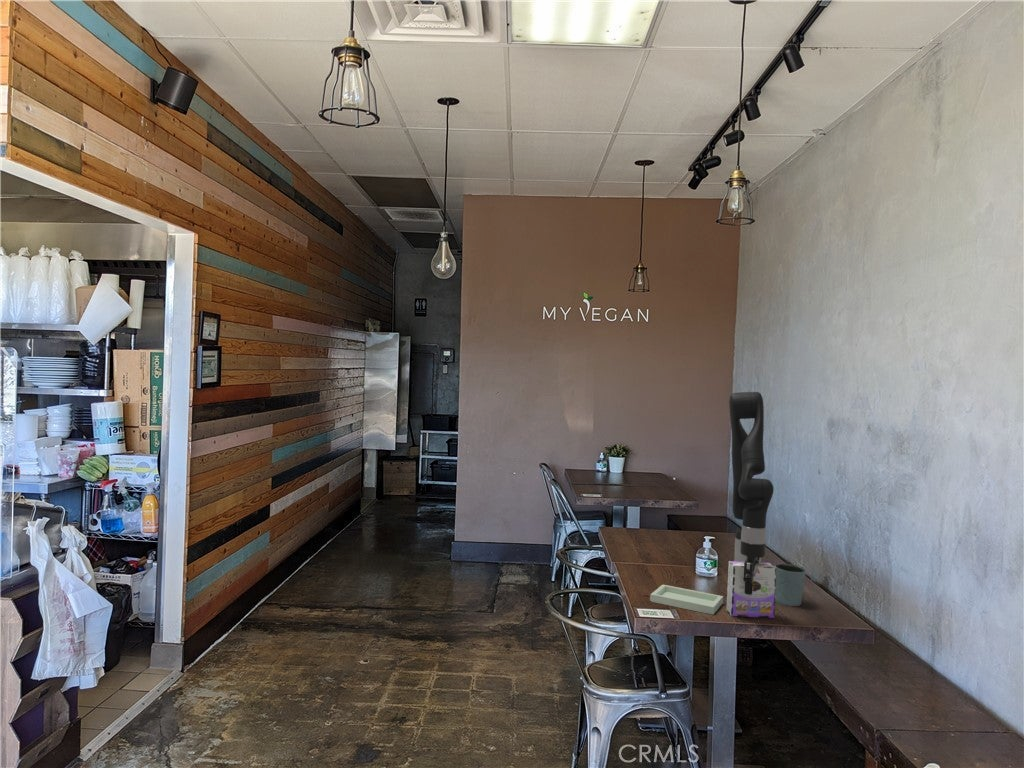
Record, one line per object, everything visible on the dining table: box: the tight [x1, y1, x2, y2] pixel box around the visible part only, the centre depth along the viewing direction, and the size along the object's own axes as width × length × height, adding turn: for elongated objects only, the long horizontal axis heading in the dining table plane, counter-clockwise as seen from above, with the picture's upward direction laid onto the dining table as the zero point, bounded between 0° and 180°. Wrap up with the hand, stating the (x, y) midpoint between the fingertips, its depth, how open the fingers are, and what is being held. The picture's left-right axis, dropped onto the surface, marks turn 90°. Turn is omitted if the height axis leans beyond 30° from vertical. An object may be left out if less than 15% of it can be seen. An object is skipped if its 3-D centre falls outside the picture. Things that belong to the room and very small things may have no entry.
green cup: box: [773, 563, 807, 607], centre depth 232 cm, size 10×10×12 cm
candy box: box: [725, 560, 776, 619], centre depth 217 cm, size 14×6×16 cm, turn 89°
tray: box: [649, 584, 724, 615], centre depth 226 cm, size 14×21×2 cm, turn 61°
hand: (750, 590), depth 217 cm, fingers closed on candy box, 8 cm apart
